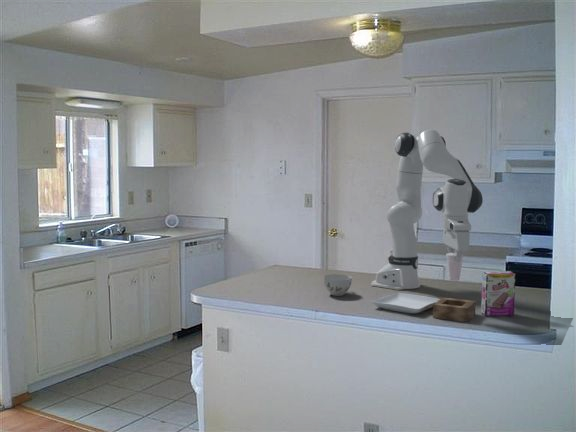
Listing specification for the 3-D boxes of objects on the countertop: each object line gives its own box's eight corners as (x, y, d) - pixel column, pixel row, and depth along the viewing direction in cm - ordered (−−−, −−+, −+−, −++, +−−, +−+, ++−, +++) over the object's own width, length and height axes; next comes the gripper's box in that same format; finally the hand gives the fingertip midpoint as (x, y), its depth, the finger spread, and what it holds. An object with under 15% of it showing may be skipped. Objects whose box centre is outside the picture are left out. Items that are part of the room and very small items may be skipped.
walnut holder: (432, 317, 227) (433, 304, 227) (442, 309, 238) (442, 297, 237) (466, 322, 221) (467, 308, 220) (475, 313, 231) (475, 301, 231)
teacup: (342, 299, 257) (342, 280, 256) (317, 295, 264) (317, 277, 264) (360, 292, 269) (359, 274, 268) (335, 288, 277) (335, 271, 276)
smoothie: (451, 281, 224) (451, 244, 222) (442, 278, 230) (442, 241, 229) (466, 280, 226) (467, 243, 224) (457, 277, 232) (458, 241, 230)
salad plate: (396, 299, 258) (396, 291, 257) (443, 306, 244) (443, 298, 244) (370, 309, 241) (370, 301, 241) (418, 318, 228) (418, 309, 228)
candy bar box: (485, 316, 227) (486, 273, 225) (480, 313, 232) (481, 271, 230) (514, 316, 228) (516, 273, 226) (509, 312, 233) (510, 270, 231)
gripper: (439, 219, 236) (438, 255, 237) (455, 226, 215) (454, 265, 217) (455, 219, 236) (454, 254, 238) (473, 226, 216) (472, 264, 217)
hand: (454, 259), depth 227 cm, fingers closed on smoothie, 6 cm apart
